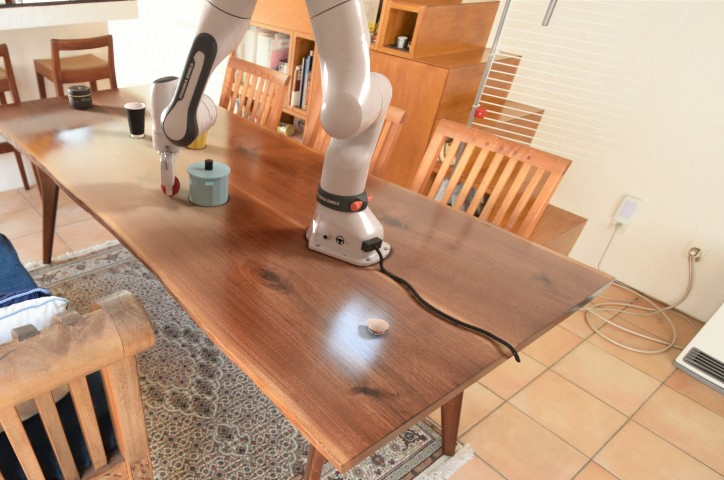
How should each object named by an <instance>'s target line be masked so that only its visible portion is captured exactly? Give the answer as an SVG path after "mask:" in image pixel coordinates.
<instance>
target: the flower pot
mask: <svg viewBox="0 0 724 480" xmlns="http://www.w3.org/2000/svg"><path fill="white" fill-rule="evenodd" d="M208 132H209V130H207V131H206V132H205V133H203V134H202V135H201V136H199V137H198V138H196V139H195V140H194V141H193V142H192V143H191V144H190V145H189V146H187V148H189V149H192V150H202V149H204V148H205V146H206V142H207V137H208Z"/></svg>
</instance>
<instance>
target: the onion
mask: <svg viewBox="0 0 724 480" xmlns="http://www.w3.org/2000/svg"><path fill="white" fill-rule="evenodd" d="M160 189H161V191H162V193H163V194H164V196H167V197H168V198H173V197H175V196H176V195H177V194H178V193H179V191H180V190H181V183H180V179H179V178H178V177H177V175H175V180H174V185H173V186H172V191H173V193H172V195H166V188H165V186H162V184H161V183H160Z"/></svg>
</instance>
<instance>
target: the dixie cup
mask: <svg viewBox="0 0 724 480" xmlns="http://www.w3.org/2000/svg"><path fill="white" fill-rule="evenodd" d="M123 107H124V108H125V113H126V119H127V123H128V128H129V133H130V136H131V137H132V138H135V139H140V138H143V137H145V133H146V132H145V129H146V128H145V127H146V107H147V104H146V103H144V102H136V101H135V102H133V101H132V102H127V103H125V104H124V106H123Z"/></svg>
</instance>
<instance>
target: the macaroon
mask: <svg viewBox="0 0 724 480" xmlns="http://www.w3.org/2000/svg"><path fill="white" fill-rule="evenodd" d="M366 326H367V329H368V331H369V332H370V333H371V334H373V335H377V336H381V335H385V334H386V333H387V332H388V330H389V328H390V324H389V322H387V321H386V320H384V319H380V318H367V319H366Z"/></svg>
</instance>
